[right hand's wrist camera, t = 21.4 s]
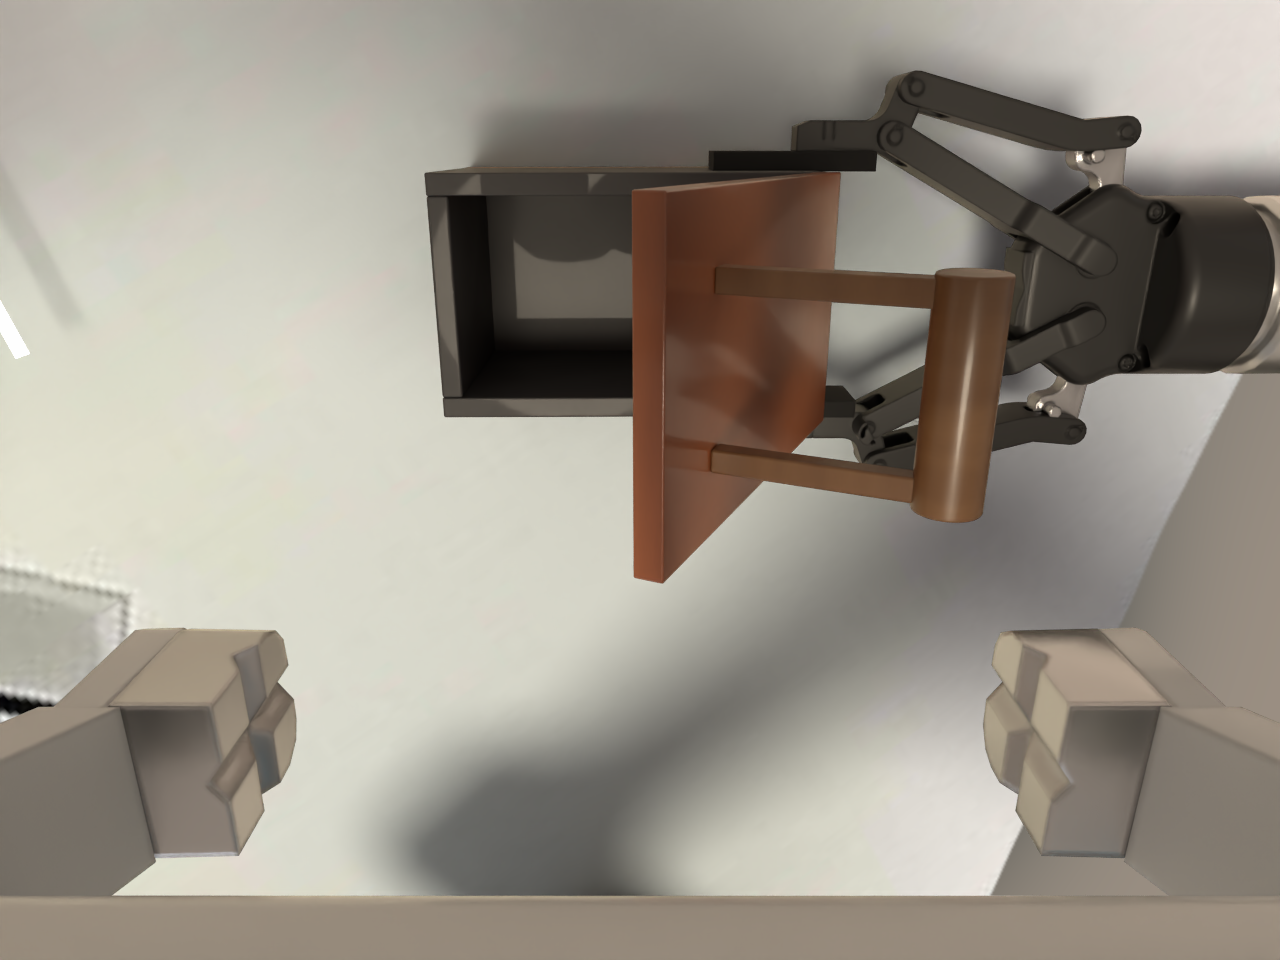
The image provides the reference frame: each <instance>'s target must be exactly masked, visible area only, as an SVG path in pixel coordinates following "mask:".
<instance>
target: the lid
mask: <svg viewBox="0 0 1280 960" xmlns="http://www.w3.org/2000/svg"><path fill="white" fill-rule="evenodd" d="M840 179H841V173H840V172H816V173H805V174H795V175H784V176H773V177H763V178H752V179H741V180H731V181H720V182H709V183H699V184H688V185H677V186H667V187H656V188H645V189H634V190H632V325H633V525H634V578H638V579H642V580H647V581H652V582H657V583H664V582H665V581H666V580H667V579H668V578H669V577H670V576H671V575H672V574H673V573H674V572H675V571H676V570H677V569H678V568H679V567H680V566H681V565H682V564H683V563H684V562H685V561H686V560H687V559H688V558H689V556H690V555H691V554H692V553H693V552H694V551H695V550H696V549H697V548H698V547H699V546H700V545H701V544H702V543H703V542H704V541H705V540H706V539H707V538H708V537H709V536H710V535H711V534H712V533H713V532H714V531H715V530H716V529H717V528H718V527H719V526H720V525H721V524H722V523H723V522H724V521H725V520H726V519H727V518H728V517H729V516H730V515H731V514H732V513H733V512H734V511H735V510H736V509H737V508H738V507H739V506H740V505H741V504H742V503H743V502H744V500H745V499H746V498H747V497H748V496H749V495H750V494H751V493H752V492H753V491H754V490H755V489H756V488H757V487H758V486H759V485H760V484H761V483H762V482H763V481H769V482H775V483H782V484H788V485H795V486H802V487H808V488H815V489H821V490H828V491H834V492H841V493H847V494H854V495H861V496H867V497H874V498H880V499H887V500H893V501H900V502H906V503H910V507H911V509H912V510H913V511H914V512H915V513H916V514H918V515H920V516H922V517H925V518H928V519H932V520H936V521H941V522H950V523H962V522H970V521H974V520H976V519H978V518H980V517H981V515H982V514H983V508H984V501H985V494H986V487H987V480H988V473H989V466H990V458H991V451H992V444H993V437H994V430H995V423H996V416H997V409H998V402H999V394H1000V387H1001V380H1002V373H1003V366H1004V359H1005V352H1006V345H1007V338H1008V330H1009V323H1010V316H1011V309H1012V302H1013V295H1014V288H1015V281H1016V276H1015V274H1013V273H1011V272H1007V271H1002V270H995V269H983V268H949V269H942V270H939V271H936V273H935V275H922V274H904V273H885V272H866V271H847V270H834V263H835V249H836V235H837V221H838V207H839V193H840ZM832 302H837V303H852V304H867V305H881V306H896V307H911V308H926V309H931V314H930V323H929V332H928V341H927V350H926V359H925V368H924V377H923V386H922V396H921V405H920V414H919V423H918V432H917V441H916V450H915V459H914V468H913V470H908V469H901V468H893V467H886V466H879V465H872V464H864V463H857V462H850V461H843V460H836V459H828V458H821V457H814V456H807V455H799V454H792V452H793V451H794V450H795V449H796V448H797V447H798V446H799V444H800V443H801V442H802V441H803V440H804V439H805V438H806V437H807V436H808V435H809V434H810V433H811V432H812V431H813V430H814V429H815V428H816V427H817V426H818V425H819V424H820V423H821V422H822V421H823V417H824V403H825V389H826V375H827V361H828V347H829V333H830V319H831V305H832Z"/></svg>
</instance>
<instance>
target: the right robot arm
mask: <svg viewBox="0 0 1280 960" xmlns="http://www.w3.org/2000/svg"><path fill="white" fill-rule="evenodd" d="M0 331H1V333H2V335H3V337H4V338H5V340H6V342H7V344H8V346H9V347H10V349H11V351H12V353H13V354H14V356H15V358H19V357H22V356H25V355H28V354H30V353H29V351H28V350H27V348H26V346H25V344H24V342H23V341H22V339H21V337H20V335H19V333H18V332H17V330H16V328H15V326H14V325H13V323H12V321H11V319H10V317H9V316H8V314H7V312H6V310H5V309H4V307H3V305H2V303H1V301H0ZM287 667H288V660H287V655H286V650H285V645H284V640H283V638H282V637H281V636H280V635H279V634H278V633H277V631H276V630H232V629H185V628H156V629H141V630H135V631H134V632H133V633H132V634H131V635H130V636H128V637H127V638H126V639H125V640H124V641H123V642H122V643H121V644H120V645H119V646H118V647H117V648H116V649H115V650H114V651H113V652H111V653H110V654H109V655H108V656H107V657H106V658H105V659H104V660H103V661H102V662H101V663H100V664H99V665H98V666H97V667H96V668H94V669H93V670H92V671H91V672H90V673H89V674H88V675H87V676H86V677H85V678H84V679H83V680H82V681H81V682H80V683H79V684H77V685H76V686H75V687H74V688H73V689H72V690H71V691H70V692H69V693H68V694H67V695H66V696H65V697H64V698H63V699H62V700H60V701H59V702H58V703H57V704H56V705H55V706H54V707H38V708H35V709H33V710H31V711H28V712H26V713H23V714H21V715H19V716H16V717H14V718H11V719H9V720H7V721H4V722H2V723H0V960H1280V723H1278V722H1276V721H1273V720H1271V719H1268V718H1266V717H1264V716H1261V715H1259V714H1257V713H1254V712H1252V711H1249V710H1247V709H1245V708H1242V707H1226V706H1225V705H1224V704H1223V703H1222V702H1221V701H1219V700H1218V699H1217V698H1216V697H1215V696H1214V695H1213V694H1212V693H1211V692H1210V691H1209V690H1208V689H1207V688H1206V687H1205V686H1204V685H1203V684H1202V683H1201V682H1199V681H1198V680H1197V679H1196V678H1195V677H1194V676H1193V675H1192V674H1191V673H1190V672H1189V671H1188V670H1187V669H1186V668H1185V667H1184V666H1182V665H1181V664H1180V663H1179V662H1178V661H1177V660H1176V659H1175V658H1174V657H1173V656H1172V655H1171V654H1170V653H1169V652H1168V651H1167V650H1166V649H1165V648H1163V647H1162V646H1161V645H1160V644H1159V643H1158V642H1157V641H1156V640H1155V639H1154V638H1153V637H1152V636H1151V635H1150V634H1149V633H1148V632H1146V631H1144V630H1141V629H1137V628H1113V629H1065V630H1024V631H1007V632H1001V633H1000V635H999V637H998V640H997V642H996V644H995V648H994V654H993V659H992V667H993V668H994V670H995V671H996V673H997V674H998V676H999V677H1000V679H1001V680H1002V683H1001V684H1000V685H999V686H998V687H997V688H996V689H995V690H994V692H993V693H992V694H991V695H990V696H989V697H988V698H987V699H986V705H985V713H984V722H983V729H984V739H985V749H986V753H987V756H988V759H989V762H990V765H991V768H992V770H993V771H994V773H995V775H996V777H997V779H998V781H999V783H1001V784H1003V785H1004V786H1006V787H1007V788H1009V789H1010V790H1012V791H1014V792H1015V793H1017V794H1018V799H1017V805H1016V813H1017V814H1018V816H1019V818H1020V820H1021V821H1022V823H1023V825H1024V826H1025V828H1026V830H1027V832H1028V833H1029V835H1030V837H1031V839H1032V840H1033V842H1034V844H1035V846H1036V847H1037V849H1038V851H1039V852H1040V854H1041V856H1067V857H1104V858H1125V859H1124V862H1125V863H1126V864H1128V865H1129V866H1131V867H1132V868H1133V869H1134V870H1136V871H1137V872H1138V873H1140V874H1141V875H1142V876H1144V877H1145V878H1146V879H1148V880H1149V881H1150V882H1151V883H1153V884H1154V885H1155V886H1157V887H1158V888H1159V889H1161V890H1162V891H1163V892H1165V893H1166V894H1167V895H1169V896H112V895H113V894H114V893H116V892H117V891H118V890H120V889H121V888H122V887H124V886H125V885H126V884H128V883H129V882H130V881H131V880H133V879H134V878H135V877H137V876H138V875H139V874H141V873H142V872H143V871H145V870H146V869H147V868H149V867H150V866H151V865H153V864H154V863H155V862H156V860H155V858H175V857H211V856H239V854H240V853H241V851H242V849H243V847H244V846H245V844H246V842H247V840H248V839H249V837H250V835H251V833H252V832H253V830H254V828H255V827H256V825H257V823H258V821H259V820H260V818H261V816H262V814H263V813H264V805H263V799H262V794H263V793H265V792H266V791H268V790H270V789H271V788H273V787H274V786H276V785H277V784H279V783H281V781H282V779H283V777H284V775H285V773H286V771H287V769H288V768H289V766H290V763H291V759H292V755H293V750H294V746H295V742H296V719H297V718H296V711H295V704H294V699H293V698H292V697H291V696H290V695H289V694H288V693H287V692H286V690H285V689H284V688H283V687H282V686H281V685H280V684H279V683H278V680H279V679H280V677H281V676H282V674H283V673H284V671H285V670H286V668H287Z"/></svg>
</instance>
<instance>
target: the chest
mask: <svg viewBox="0 0 1280 960" xmlns="http://www.w3.org/2000/svg"><path fill="white" fill-rule="evenodd" d="M816 172H823V171H815V170H784V171H713V170H710V169H709V167H467V168H462V169H453V170H445V171H437V172H428V173H425V185H426V195H427V196H428V197H427V206H428V219H429V231H430V244H431V256H432V269H433V281H434V293H435V306H436V318H437V331H438V343H439V355H440V368H441V380H442V393H443V397H444V398H443V407H444V416H445V417H623V416H633V325H632V190H634V189H645V188H656V187H667V186H677V185H688V184H699V183H709V182H720V181H731V180H741V179H752V178H763V177H773V176H784V175H795V174H805V173H816Z"/></svg>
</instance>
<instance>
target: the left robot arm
mask: <svg viewBox="0 0 1280 960" xmlns="http://www.w3.org/2000/svg"><path fill="white" fill-rule="evenodd" d="M918 113H920V114H923V115H927V116H930V117H934V118H937V119H940V120H944V121H947V122H951V123H954V124H957V125H961V126H964V127H968V128H971V129H974V130H978V131H981V132H984V133H988V134H991V135H995V136H998V137H1001V138H1005V139H1008V140H1012V141H1015V142H1018V143H1022V144H1025V145H1029V146H1032V147H1035V148H1040V149H1044V150H1052V151H1066V154H1065V159H1066V163H1067V165H1068V167H1069V168H1071V169H1072V170H1076V171H1081V172H1083V173H1084V174H1085V175H1086V176H1087V178H1088V180H1089V186H1088V187H1086V188H1085V189H1083V190H1082V191H1080V192H1079V193H1077V194H1076V195H1074V196H1073V197H1071V198H1070V199H1068V200H1067V201H1065V202H1064V203H1062V204H1061V205H1059V206H1058V207H1056V208H1055V209H1054V210H1052V211H1049V210H1048V209H1046V208H1044V207H1043V206H1041V205H1039V204H1037V203H1034V202H1032V201H1030V200H1028V199H1026V198H1024V197H1023V196H1021V195H1020V194H1018V193H1016V192H1015V191H1013V190H1011V189H1010V188H1008V187H1007V186H1005V185H1003V184H1002V183H1000V182H999V181H997V180H995V179H994V178H992V177H990V176H989V175H987V174H986V173H984V172H982V171H981V170H979V169H978V168H976V167H974V166H973V165H971V164H970V163H968V162H966V161H965V160H963V159H961V158H960V157H958V156H957V155H955V154H953V153H952V152H950V151H949V150H947V149H945V148H944V147H942V146H941V145H939V144H937V143H936V142H934V141H932V140H931V139H929V138H928V137H926V136H924V135H923V134H921V133H920V132H918V131H916V130H915V129H913V128H912V125H913V123H914V120H915V118H916V116H917V114H918ZM1140 134H1141V124H1140V122H1139V120H1138V119H1137V118H1135V117H1133V116H1115V117H1099V118H1088V119H1080V118H1077V117H1074V116H1070V115H1067V114H1064V113H1060V112H1057V111H1054V110H1050V109H1047V108H1044V107H1040V106H1037V105H1034V104H1030V103H1027V102H1023V101H1020V100H1017V99H1013V98H1010V97H1007V96H1003V95H1000V94H997V93H993V92H990V91H987V90H983V89H980V88H977V87H973V86H970V85H967V84H963V83H960V82H957V81H953V80H950V79H947V78H943V77H940V76H937V75H933V74H930V73H927V72H923V71H912V72H909V73H905V74H901V75H898V76H895V77H893V78H892V79H891V80H890V81H889V82H888V84H887V85H886V89H885V96H884V99H883V101H882V103H881V106H880V108H879V110H878V112H877V113H876V114H875V115H874V116H873V117H872V118H870V119H868V120H810V121H804V122H802V123H799V124H797V125H794V126H792V137H791V151H709V169H710V170H713V171H784V170H815V171H876V161H877V154H878V155H880V156H882V157H883V158H885V159H886V160H888V161H890V162H891V163H893V164H895V165H896V166H898V167H900V168H901V169H903V170H905V171H906V172H908V173H909V174H911V175H913V176H914V177H916V178H918V179H919V180H921V181H923V182H924V183H926V184H927V185H929V186H931V187H932V188H934V189H936V190H937V191H939V192H941V193H942V194H944V195H946V196H947V197H949V198H950V199H952V200H954V201H955V202H957V203H959V204H960V205H962V206H964V207H965V208H967V209H968V210H970V211H972V212H973V213H975V214H977V215H978V216H980V217H982V218H983V219H985V220H986V221H988V222H989V223H990V224H991V225H992V226H994V227H995V228H997V229H999V230H1000V231H1002V232H1004V233H1005V234H1007V235H1008V236H1010V237H1012V238H1013V239H1015V241H1014V243H1013V244H1012V247H1006V255H1005V262H1004V269H1005V271H1007V272H1011V273H1013V274H1015V276H1016V281H1015V288H1014V295H1013V302H1012V309H1011V316H1010V323H1009V330H1008V338H1007V345H1006V352H1005V359H1004V366H1003V373H1002V376H1005V375H1013V374H1017V373H1019V372H1021V371H1023V370H1025V369H1027V368H1029V367H1031V366H1033V365H1035V364H1038V363H1041V364H1042V365H1044V366H1045V367H1046V368H1047V369H1049V370H1050V371H1051V372H1052V373H1054V374H1055V375H1056V376H1057V378H1056V380H1055V382H1054V384H1053V385H1052V386H1051V387H1049V388H1047V389H1044V390H1039V391H1036V392H1034V393H1031V394H1030V395H1029V396H1028V398H1027V402H1011V403H1005V404H999V405H998V409H997V416H996V423H995V430H994V437H993V444H992V451H996V450H1000V449H1004V448H1009V447H1013V446H1017V445H1021V444H1025V443H1029V442H1044V443H1055V444H1067V445H1072V444H1076V443H1078V442H1080V441H1081V440H1082V439H1083V438H1084V437H1085V435H1086V429H1087V428H1086V425H1085V423H1084V422H1082V421H1081V420H1080V419H1078V416H1079V412H1080V408H1081V405H1082V401H1083V397H1084V394H1085V390H1086V386H1087V384H1091V383H1093V382H1095V381H1097V380H1099V379H1101V378H1103V377H1106V376H1109V375H1113V374H1206V373H1213V372H1216V371H1222V372H1224V373H1233V374H1251V373H1280V196H1251V197H1246V198H1244V199H1241V198H1239V197H1235V196H1143V195H1140V194H1138V193H1135V192H1134V191H1132V190H1131V189H1129V188H1128V187H1126V186H1124V185H1123V180H1124V169H1125V158H1126V148H1127V147H1130V146H1132V145H1133V144H1134V143H1136V142H1137V140H1138V139H1139V137H1140ZM924 368H925V365H924V366H922V367H920V368H918V369H916V370H914V371H912V372H910V373H908V374H906V375H904V376H902V377H900V378H898V379H896V380H894V381H892V382H890V383H888V384H886V385H884V386H882V387H880V388H878V389H876V390H875V391H873V392H871V393H869V394H867V395H865V396H863V397H861V398H859V399H857V400H854V398H853V397H852V396H851V395H850V394H849V392H848V391H847V390H846V389H845V388H844V387H843V386H826V389H825V403H824V417H823V421H822V422H821V423H820V424H819V425H818V426H817V427H816V428H815V429H814V430H813V431H812V432H811V433H810V434H809V435H808V436H807V437H806V438H846V439H849V440H851V441H852V444H853V448H854V455H855V457H856V458H857V460H858V461H859V463H864V464H872V465H879V466H886V467H893V468H901V469H908V470H913V468H914V459H915V450H916V441H917V432H918V425H914V426H910V427H906V428H902V429H898V430H894V429H896V428H898V427H900V426H902V425H904V424H906V423H908V422H910V421H912V420H914V419H916V418H919V414H920V405H921V396H922V386H923V377H924ZM892 430H894V431H892ZM992 451H991V452H992Z"/></svg>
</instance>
